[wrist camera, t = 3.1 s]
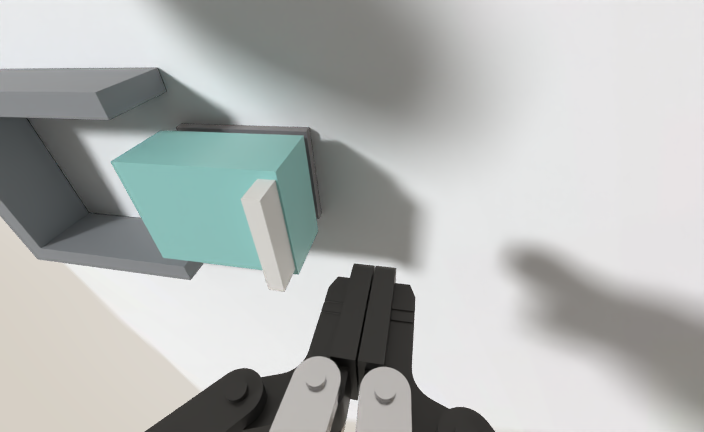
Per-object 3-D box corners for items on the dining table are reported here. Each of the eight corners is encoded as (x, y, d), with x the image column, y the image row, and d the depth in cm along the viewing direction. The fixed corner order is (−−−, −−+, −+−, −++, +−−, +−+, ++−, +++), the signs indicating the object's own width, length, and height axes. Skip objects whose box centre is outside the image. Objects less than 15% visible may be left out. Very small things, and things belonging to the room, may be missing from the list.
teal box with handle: (312, 123, 17) (259, 191, 12) (325, 215, 21) (288, 297, 16) (178, 119, 19) (82, 178, 14) (210, 206, 23) (144, 277, 18)
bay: (157, 67, 17) (95, 92, 14) (222, 238, 24) (190, 279, 21) (-22, 69, 20) (-109, 90, 17) (84, 223, 27) (37, 259, 24)
